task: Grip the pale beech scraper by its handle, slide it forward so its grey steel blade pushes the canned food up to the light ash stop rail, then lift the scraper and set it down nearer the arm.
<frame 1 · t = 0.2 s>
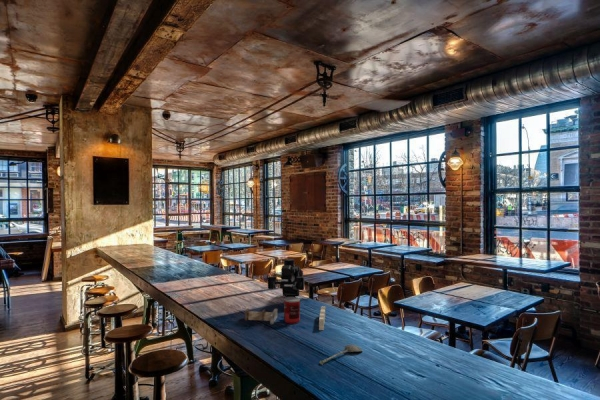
hand: (283, 287, 173), 17 cm above the table, tool horizontal, fingers open, 9 cm apart
scraper: (273, 320, 175), on the table
soupspoon: (340, 357, 135), on the table
stop rail: (322, 322, 172), on the table
canned food: (291, 321, 174), on the table
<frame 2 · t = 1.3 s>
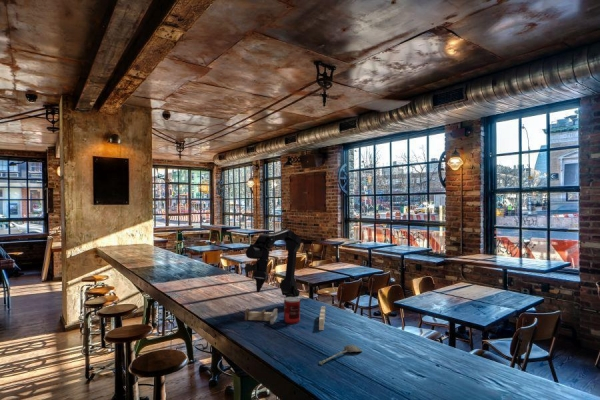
hand: (258, 291, 175), 14 cm above the table, tool pointing down, fingers open, 9 cm apart
nothing on the table moved.
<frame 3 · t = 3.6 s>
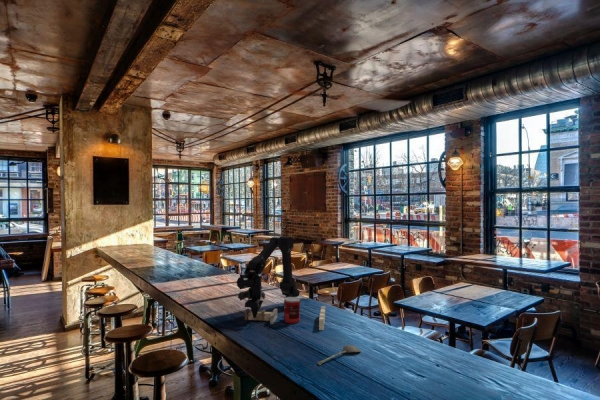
hand: (255, 316, 176), 1 cm above the table, tool pointing down, fingers closed on scraper, 2 cm apart
scraper: (273, 320, 175), on the table, touching gripper
when the fingers open (2 cm above the table, at t = 12.8 s): scraper stays where it is, on the table.
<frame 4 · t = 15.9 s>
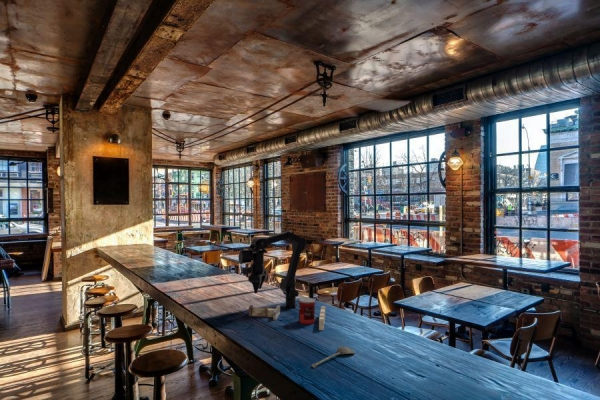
hand: (257, 291, 188), 11 cm above the table, tool pointing down, fingers open, 9 cm apart
scraper: (276, 316, 181), on the table
soupspoon: (333, 360, 133), on the table
canned food: (306, 322, 173), on the table
at the end: canned food inside the target area (1.5 cm from its centre), on the table; canned food tilted 0°; scraper touching table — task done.
